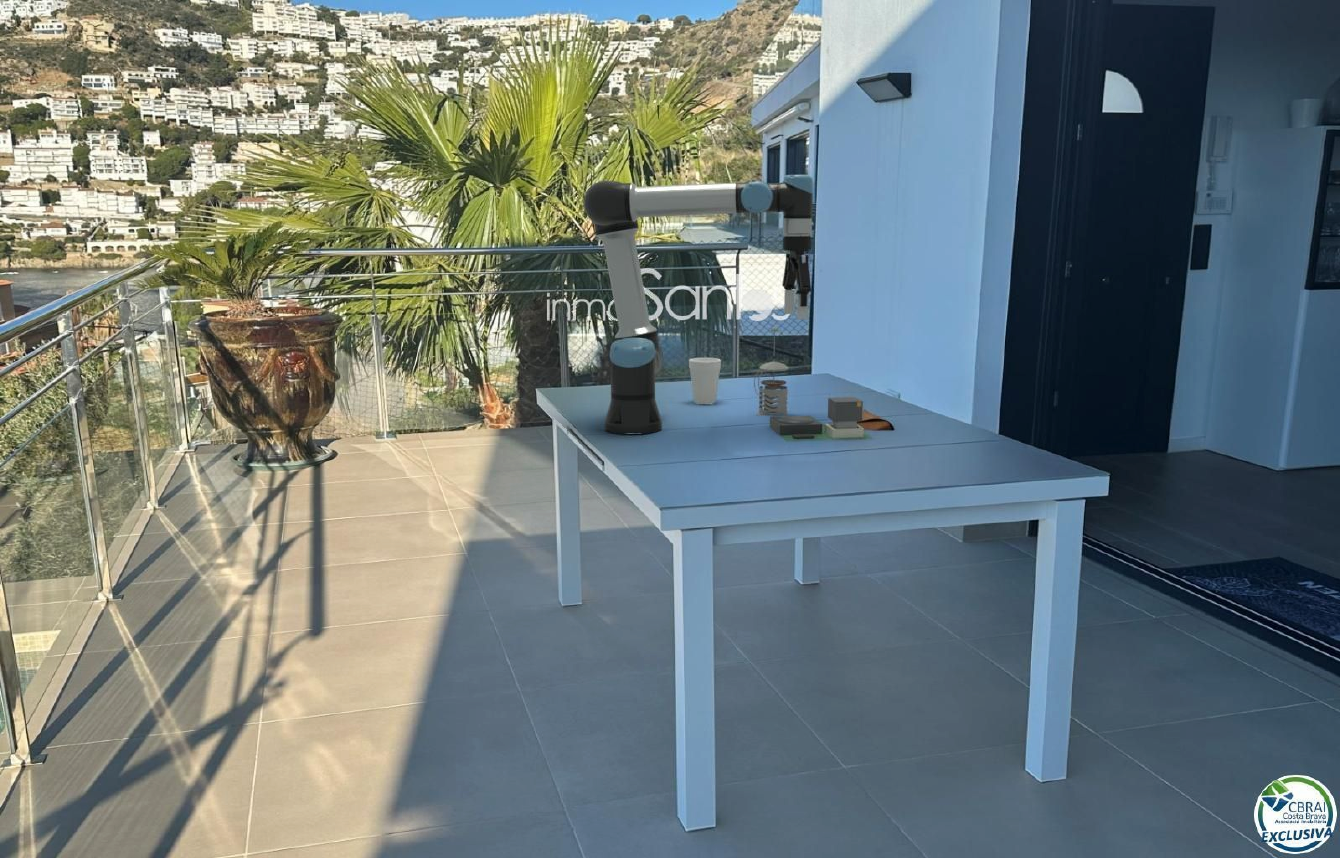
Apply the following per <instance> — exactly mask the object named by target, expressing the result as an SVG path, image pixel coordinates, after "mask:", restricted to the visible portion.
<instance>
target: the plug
mask: <svg viewBox="0 0 1340 858" xmlns="http://www.w3.org/2000/svg"><path fill="white" fill-rule="evenodd" d="M827 399H828V400H827V401H828V402H827V418H828V419H830V420H831V422H833V428H834V429H845V428H857V421H862V411H863V410H864V406H863V405H864V403H863V402H864V401H863V400H861V399H859V398H858V397H856V396H847V397H846V396H844V397H843V396H842V397H841V396H840V397H828V398H827Z"/></svg>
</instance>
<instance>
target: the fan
mask: <svg viewBox="0 0 1340 858" xmlns="http://www.w3.org/2000/svg"><path fill="white" fill-rule="evenodd" d="M823 425H824V424H823V423H822V422H820V421H819V420H818V419H816V418H815V417H813V416H812V415H789V416H788V415H786V416H785V415H783V416H769V427H770V428H771V429H772V430H773V431H774V432H775V431H776V432H777V434H778V436H780V435H794V434H822V426H823ZM776 432H775V433H776Z"/></svg>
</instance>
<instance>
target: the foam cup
mask: <svg viewBox="0 0 1340 858" xmlns="http://www.w3.org/2000/svg"><path fill="white" fill-rule="evenodd" d="M688 368H689V373H690V380H691V388H692V395H693V401H694V402H695V403H697V404H696V405H699V404H710V403H714V402H715V403H716V401H717V395H718V386H719V379H720V371H721V369H722V360H721V359H720V358H716V357H695V358H690V359H688ZM695 403H694V404H695Z"/></svg>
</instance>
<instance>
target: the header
mask: <svg viewBox="0 0 1340 858" xmlns="http://www.w3.org/2000/svg"><path fill="white" fill-rule="evenodd" d="M824 424H825V431H824V432H825V433H826V434H827V435H829V436H830V437H831V438H855V437H864V432H865V430H864V428H862V427H861V426H859V425H858V424H857V428H845V429H834V428H833V424H829V423H824Z"/></svg>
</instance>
